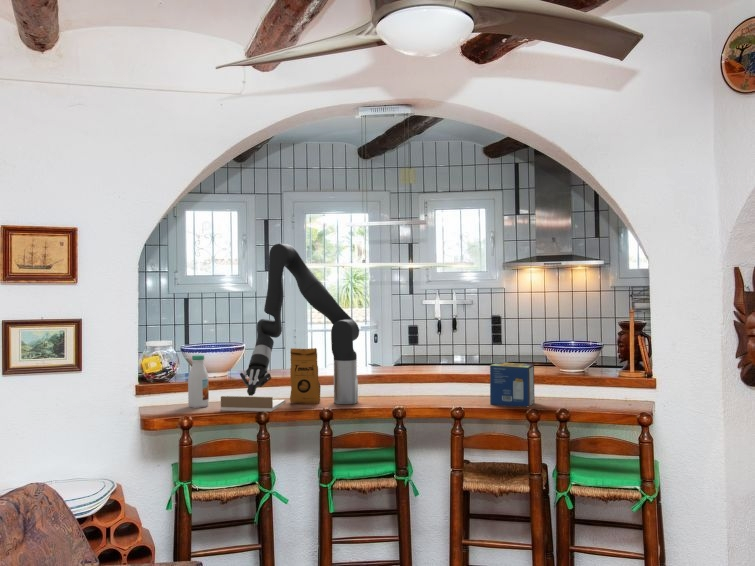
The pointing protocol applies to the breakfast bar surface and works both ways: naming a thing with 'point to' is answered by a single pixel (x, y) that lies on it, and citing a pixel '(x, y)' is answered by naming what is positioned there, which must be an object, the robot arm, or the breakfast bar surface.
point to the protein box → (512, 384)
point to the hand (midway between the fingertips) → (250, 394)
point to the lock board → (249, 403)
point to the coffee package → (304, 376)
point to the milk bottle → (198, 383)
